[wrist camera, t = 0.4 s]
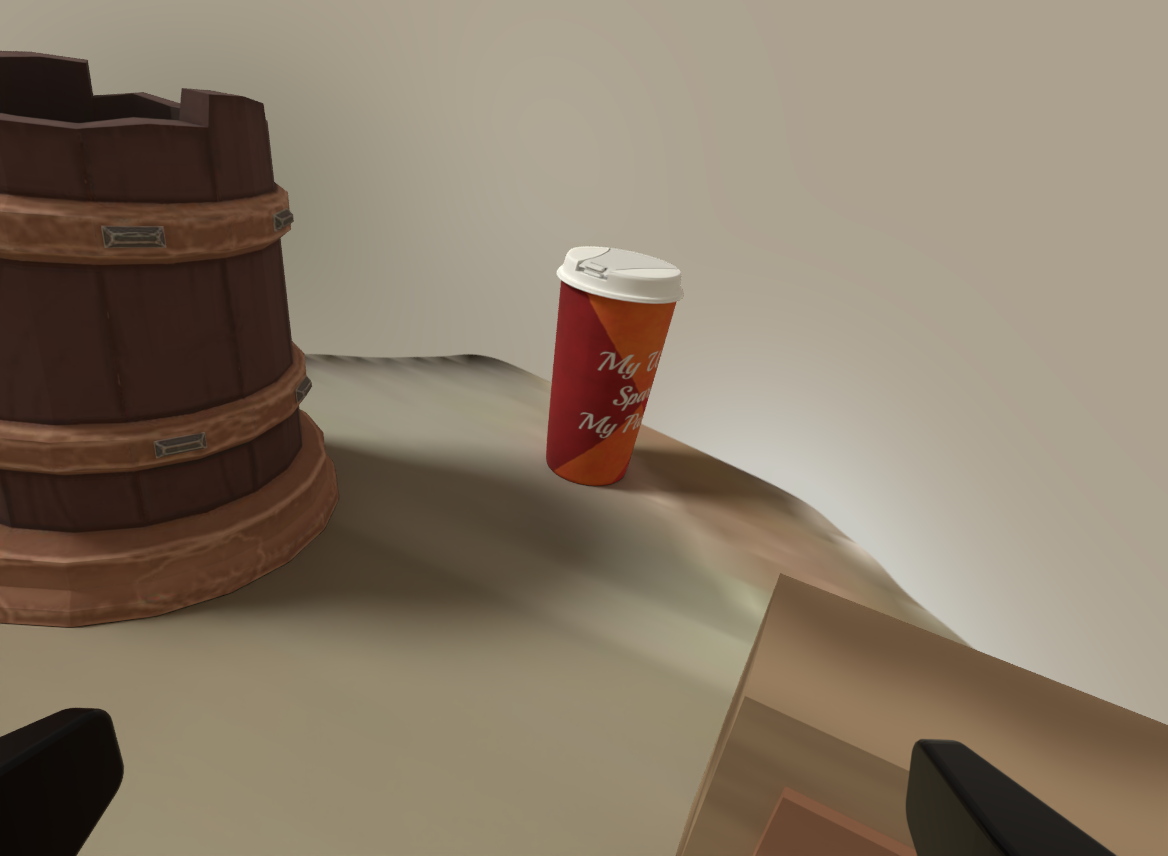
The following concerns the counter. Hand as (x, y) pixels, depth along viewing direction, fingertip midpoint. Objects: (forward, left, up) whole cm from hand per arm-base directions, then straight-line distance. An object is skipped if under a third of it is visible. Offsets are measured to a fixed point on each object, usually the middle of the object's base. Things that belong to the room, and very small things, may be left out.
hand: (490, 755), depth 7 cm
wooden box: (+6, -11, -16) cm, 20 cm away
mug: (+21, +23, -16) cm, 35 cm away
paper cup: (+34, -1, -16) cm, 37 cm away
